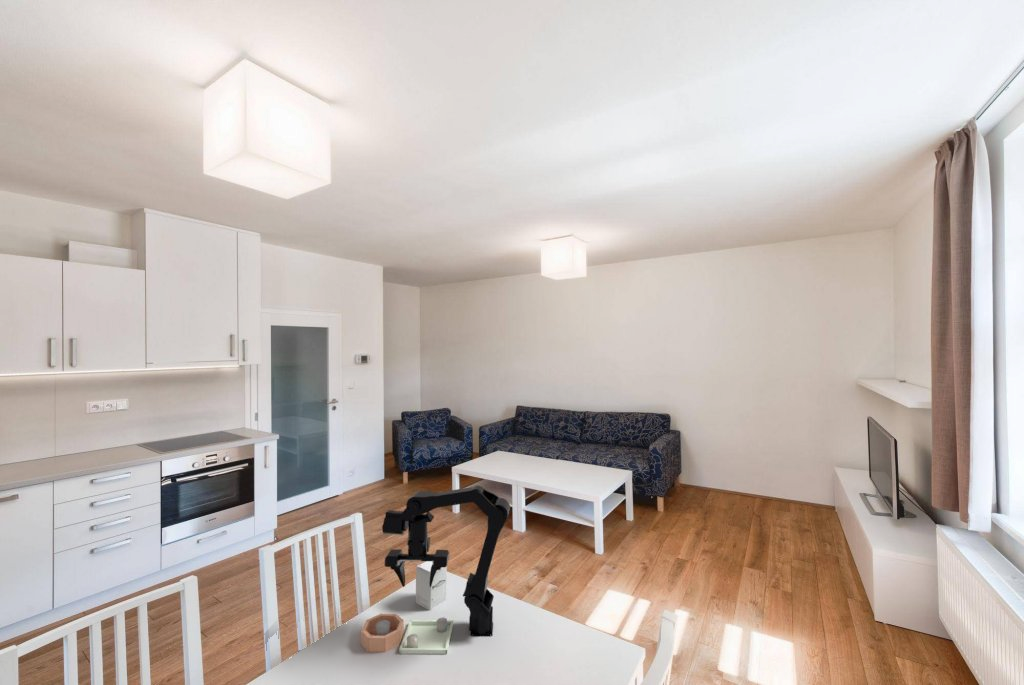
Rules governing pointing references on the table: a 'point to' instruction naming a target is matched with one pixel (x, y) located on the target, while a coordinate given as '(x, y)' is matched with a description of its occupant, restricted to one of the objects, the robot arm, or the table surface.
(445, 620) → the pebble
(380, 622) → the grey rounded cylinder
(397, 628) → the bowl
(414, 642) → the pebble
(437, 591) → the supplement box
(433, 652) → the tray
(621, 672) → the table surface
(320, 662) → the table surface
